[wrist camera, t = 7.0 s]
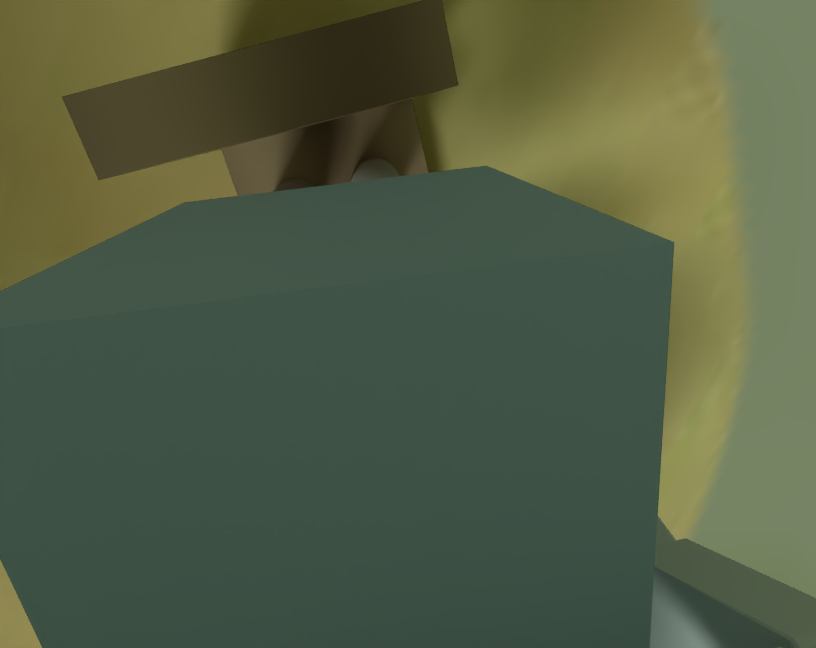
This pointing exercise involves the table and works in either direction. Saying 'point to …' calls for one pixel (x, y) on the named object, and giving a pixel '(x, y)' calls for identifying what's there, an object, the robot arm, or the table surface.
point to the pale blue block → (341, 423)
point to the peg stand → (282, 105)
